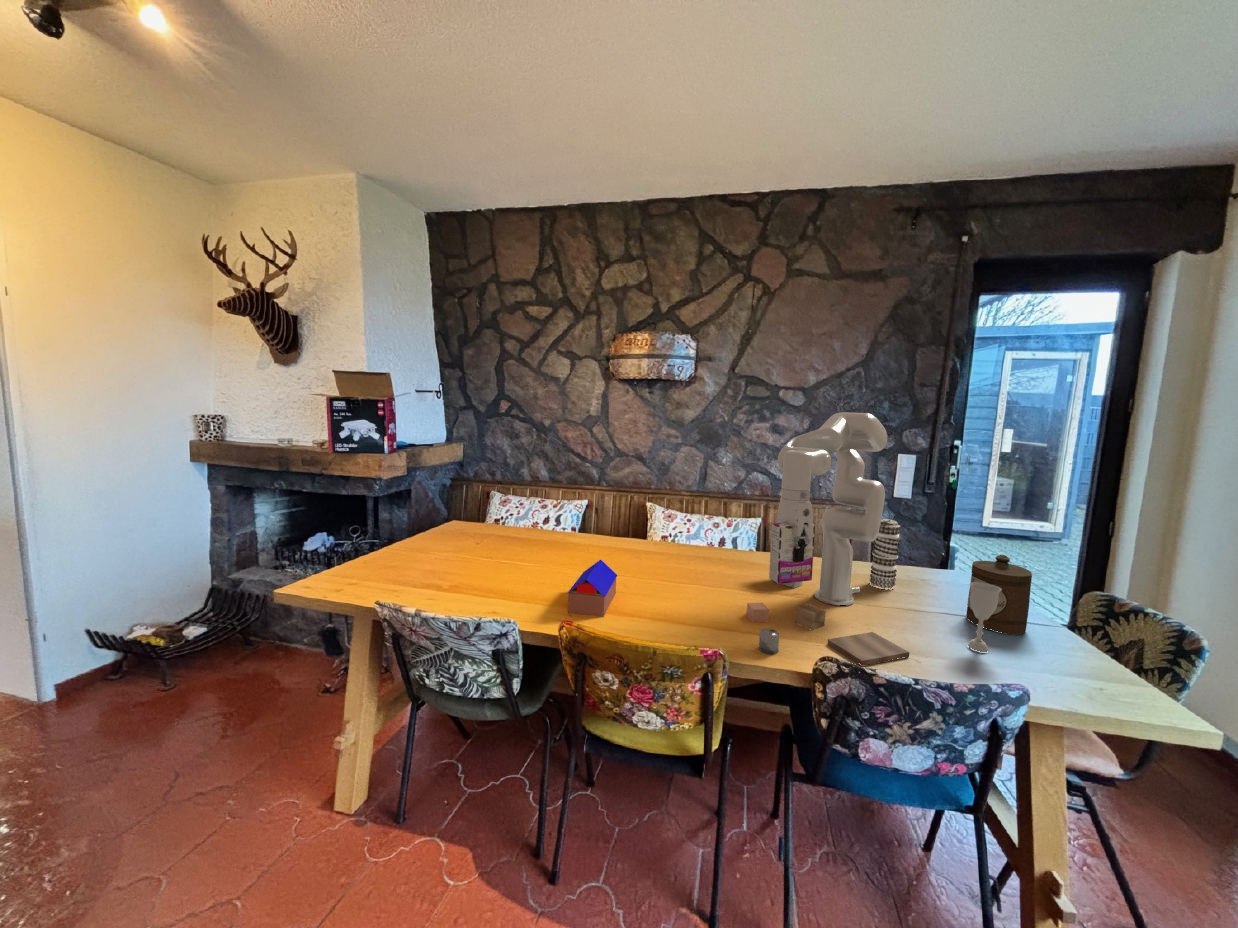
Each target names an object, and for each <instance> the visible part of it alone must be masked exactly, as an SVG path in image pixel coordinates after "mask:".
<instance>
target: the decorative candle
mask: <svg viewBox="0 0 1238 928" xmlns="http://www.w3.org/2000/svg"><path fill="white" fill-rule="evenodd" d="M900 527H901V525H900V524H899V523H898V521H896V520H894V519H889V518H881V523H880V529H879V533H878V536H877V538H876V540H874V541H873V542H872V544H871V546H872V550H871V553H872V554H871V555H873V557H872V559H873V560H872V561H871V566H870V569H871V570H870V573H871V574H869V577H870V578H869V583H870V582H871V585H872V586H878V587H881V588H884V589H885V588H890V589H891V588H892V587H893V586H896V581H897V579H896V576H897V559H899V552H898V551H900V548H898V547H899V546H901V543H900V542H901V541H902V539H900ZM872 586H871V587H872Z"/></svg>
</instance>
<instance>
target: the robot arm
mask: <svg viewBox="0 0 1238 928" xmlns="http://www.w3.org/2000/svg"><path fill="white" fill-rule="evenodd" d="M887 441H888V432H887V430H886V428H885V427H884V425H883V424H882V423H881V421H880V420H879V419H878V417H876V416H874V415H873V414H871V413H868V412H849V411H848V412H846V411H843V412H842V411H841V412H836V413H834V414H832V415H831V416H830V417H829V418H828V419H827V420H826V421H825V422H824V423H823V424H822V425H821V426H820V427H819V428H818V429H816V430H811V431H809V432H806V433H803V434H800V435H797V436H795V437H793V438H791V439H789V440H788V442H787V443H785V444H784V446H782V447H781V449H780V451H779V453H778V455H777V463H778V464H777V465H778V466H779V468H780V469H781V470H782V477H781V490H780V491H781V492H780V493H781V494H780V499H779V505H778V507H777V508H778V509H777V517H776V523H784V524H787V525H790V526H791V527H792V536H793V537H794V540H795V547H796V548H794V551H793V562H802V561H804V549H805V548H806V546H807V545H808V544H809V543H810V542H812V541H813V538H812V531H813V524H814V523H813V522H814V519H813V518H814V517H813V513H814V512H813V504H812V502H811V501H810V500H811V483H812V476H822V475H825V474H826V473H828V471H829V470H830V468H831V466H832V456H831V455H830V454H833V453H835V457H836V461H837V465H836V471H835V476H834V482H833V487H832V492H831V493H832V495H831V496H832V500H833V502H835V503H836V504H839V505H843V506H844V505H845V506H849V507H853V508H854V507H855V508H861V509H865V511H859V510H853V509H848V508H841V507H831V508H827V509H826V510H825V511H824V512H823V514H822V516H821V517H822V518H821V526H822V554H821V555H822V556H821V563H820V564H821V565H820V566H821V567H820V579H819V589H816V590H814V592H813V593H814V594H813V595H814V597H815V598H816V600H819V601H821V602H822V603H825V604H828V605H833V606H840V605H846V606H850V605H853V604H854V602H855V597H853V596H852V595H853V594H854V593H855V594H856V593H861V588H860V586H852V585H851V580H852V579H851V578H852V572H853V571H852V569H853V560H854V559H853V558H854V549H853V546H852V544H851V542H850V540H854V541H860V542H865V543H873V541H874V540H876V538H877V536H878V533H879V529H880V523H881V519H883V518H882V517H883V512H884V505H885V499H886V490H885V487H884V485H883V483H882V482H880V481H877V480H875V479H873V480H872V479H865V478H864V472H865V468H866V466H865V462H864V460H863V458H862V457H861V455H860V453H859V452H858V451H860V452H861V451H862V452H870V453H871V452H876V453H878V452H881V451H883V449H885V447H886V445H887ZM801 534H802V536H801ZM799 539H801V542H800V543H799Z"/></svg>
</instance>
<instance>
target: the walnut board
mask: <svg viewBox="0 0 1238 928" xmlns="http://www.w3.org/2000/svg"><path fill="white" fill-rule="evenodd" d="M827 645H828V646H829V647H831V648H833V649H834V650H836V651H837V652H839V653H840V654H842V655H843V656H845V657H847V658H848V659H849V658H850V659H849V660H851V659H852V660H851V661H853V660H854V661H855V662H854V661H853V662H854V663H856V664H857V663H860V664H861V665H867V664H872V665H875V664H874V663H877V664H879V663H878V662H882V663H885V662H884V661H888V660H892V659H897V658H902V657H910V651H908V650H906V649H905V648H903V647H901V646H899V645H897V644H896V643H895V642H892V641H890V640H888V639H886V638H885V637H883V636H881V635H879V634H877V633H875V632H874V631H870V632H864V633H858V634H852V635H846V636H839V637H833V638H828V639H827ZM888 662H889V661H888ZM867 666H868V665H867Z"/></svg>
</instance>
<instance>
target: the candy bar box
mask: <svg viewBox="0 0 1238 928" xmlns="http://www.w3.org/2000/svg"><path fill="white" fill-rule="evenodd" d="M770 528H771V531H770V552H769V572H768V573H769V574H768V575H769V576H768V578H769V580H771V581H772V582H773V581H774V582H773V583H776V584H778V585H783V583H792V582H801V581H802V582H807V581H808V582H810V581H812V580H813V568H814V567H813V566H814V565H813V564H814V563H813V562H814V548H815V547H814V546H815V528H816V525H815V523H813V531H812V538H813V541H812V542H810V543H809V544H808V545H807V546H806V548H805V549H804V561H802V562H793V551H794V548H796V547H795V540H794V537H793V536H792V527H791V526H790V525H787V524H784V523H777V522H771V527H770ZM801 536H802V534H801ZM800 542H801V539H799V543H800Z"/></svg>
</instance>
